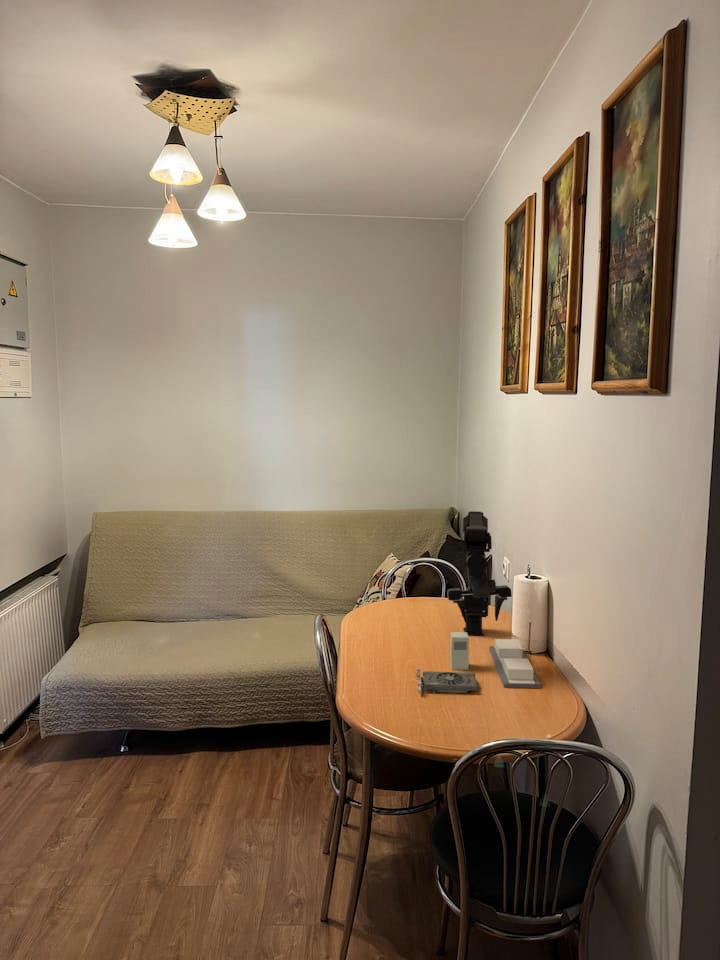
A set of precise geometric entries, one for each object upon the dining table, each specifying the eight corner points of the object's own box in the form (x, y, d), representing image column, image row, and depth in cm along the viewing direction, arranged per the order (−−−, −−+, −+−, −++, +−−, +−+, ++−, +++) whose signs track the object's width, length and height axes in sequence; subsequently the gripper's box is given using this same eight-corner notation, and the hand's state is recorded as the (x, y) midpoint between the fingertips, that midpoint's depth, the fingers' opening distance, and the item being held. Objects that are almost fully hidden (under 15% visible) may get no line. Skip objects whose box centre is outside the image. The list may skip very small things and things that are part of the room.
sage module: (450, 663, 192) (450, 632, 191) (466, 663, 191) (467, 632, 190) (451, 670, 187) (451, 637, 186) (468, 670, 187) (468, 637, 186)
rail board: (489, 649, 203) (489, 636, 202) (520, 650, 202) (520, 637, 202) (504, 687, 175) (504, 672, 174) (540, 688, 174) (540, 673, 174)
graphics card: (417, 686, 169) (416, 667, 181) (416, 699, 170) (416, 679, 181) (480, 688, 168) (475, 669, 180) (479, 702, 168) (475, 682, 180)
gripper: (448, 574, 183) (452, 628, 182) (512, 570, 181) (517, 625, 181) (445, 570, 194) (449, 621, 193) (506, 566, 192) (510, 617, 192)
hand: (481, 621), depth 189 cm, fingers open, 9 cm apart
